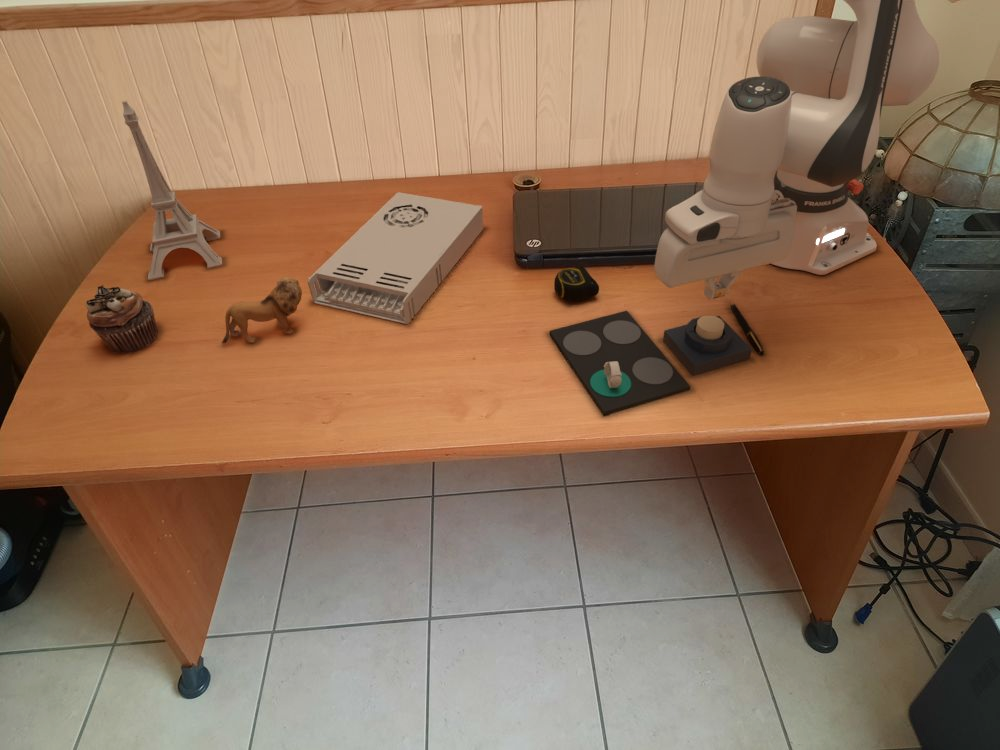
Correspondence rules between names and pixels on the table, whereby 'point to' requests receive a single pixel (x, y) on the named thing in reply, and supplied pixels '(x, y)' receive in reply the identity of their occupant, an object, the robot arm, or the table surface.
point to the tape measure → (575, 284)
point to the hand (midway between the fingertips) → (715, 295)
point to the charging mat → (631, 348)
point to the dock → (706, 348)
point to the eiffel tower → (184, 224)
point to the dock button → (709, 327)
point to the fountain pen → (747, 329)
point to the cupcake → (122, 319)
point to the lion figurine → (265, 309)
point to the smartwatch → (613, 374)
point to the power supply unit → (397, 257)
